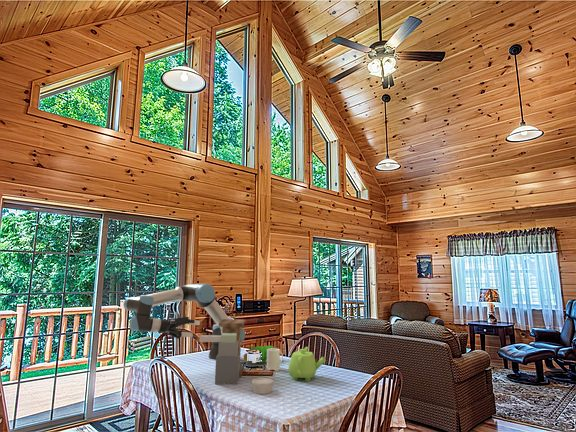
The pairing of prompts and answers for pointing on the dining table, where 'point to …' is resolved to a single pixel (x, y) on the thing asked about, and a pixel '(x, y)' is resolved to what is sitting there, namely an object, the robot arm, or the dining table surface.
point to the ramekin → (262, 385)
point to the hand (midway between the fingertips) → (196, 329)
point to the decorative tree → (262, 349)
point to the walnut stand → (233, 327)
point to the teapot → (304, 364)
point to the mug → (274, 358)
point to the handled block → (220, 338)
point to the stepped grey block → (227, 364)
